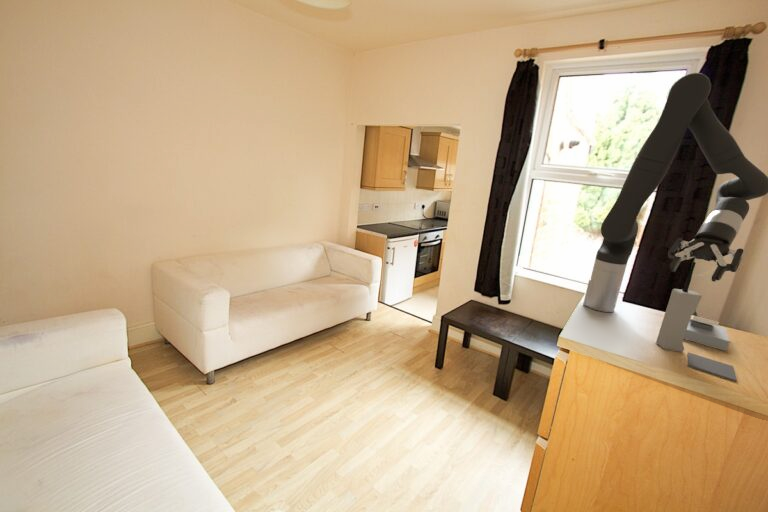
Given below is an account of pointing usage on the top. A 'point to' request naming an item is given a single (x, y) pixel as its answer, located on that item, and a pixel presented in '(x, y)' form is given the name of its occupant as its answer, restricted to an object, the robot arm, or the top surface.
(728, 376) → the rubber mat
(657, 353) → the top surface
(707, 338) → the block
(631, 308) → the top surface
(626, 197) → the robot arm
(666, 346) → the vintage mobile phone
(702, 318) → the block
